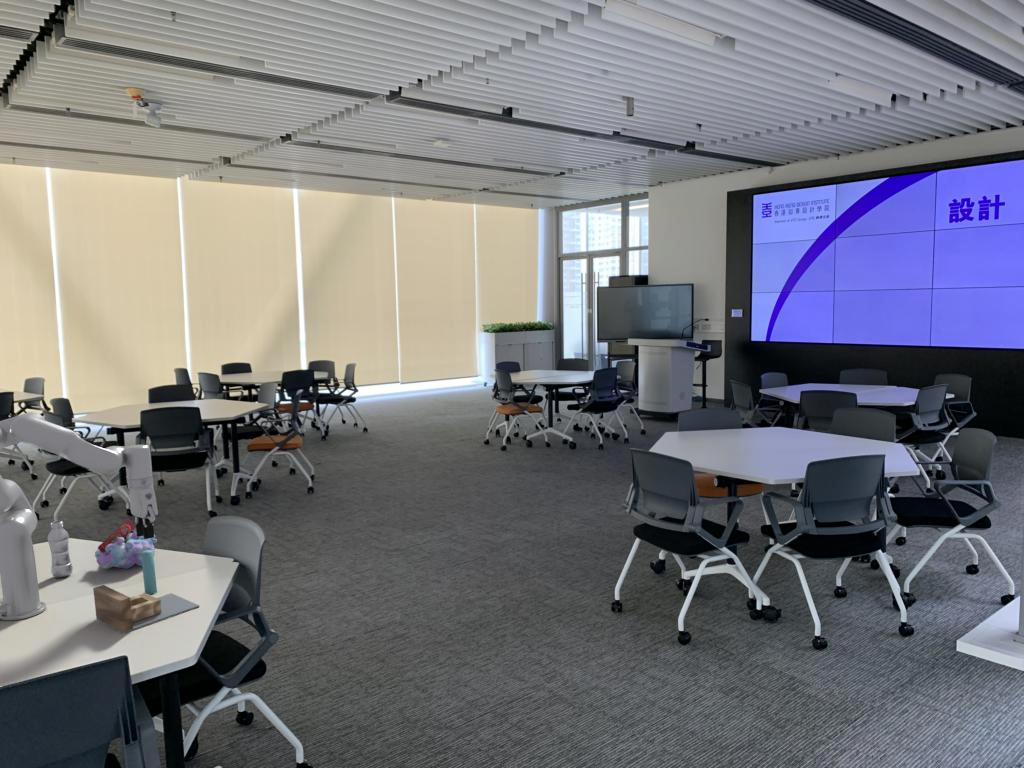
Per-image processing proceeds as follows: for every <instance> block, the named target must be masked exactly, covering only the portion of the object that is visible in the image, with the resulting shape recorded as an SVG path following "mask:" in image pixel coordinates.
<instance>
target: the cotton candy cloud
mask: <svg viewBox="0 0 1024 768" xmlns="http://www.w3.org/2000/svg"><path fill="white" fill-rule="evenodd" d="M157 542H158V539H157V538H156V535H155V533H154V537H152V538H149V539H144V536H140V537H138V536H137V532H136V525H135V524H134V523H132V522H131V520H130V519H128V518H127V519H126V520H125V521H123V523H121V525H120V526H118V528H117V529H115V530H114V531H113V532H112V533H111V534H110V535H109V536H108V537H107V538H106V539H104V541H102V542H101V544H100V543H99V545H98V546H97V549H96V551H95V552H94V557H95V559H96V560H95V562H96V563H97V564H98V566H100V567H101V568H102V569H107V570H109V569H111V568H112V567H116V568H120V569H121V568H122V569H125V570H126V569H127V570H128V569H130V568H131V567H134V566H135V564H136V565H138V566H139V567H142V557H141V552H143V551H146V550H153V555H154V556H155V552H156V550H155V549H156V548H155V545H154V544H156V543H157Z"/></svg>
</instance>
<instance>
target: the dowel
mask: <svg viewBox="0 0 1024 768" xmlns="http://www.w3.org/2000/svg"><path fill="white" fill-rule="evenodd" d="M141 557H142V566H141V568H142V576H143V585H144V586H143V587H144V593H146V594H149V595H153V594H156V593H157V592H158V589H157V588H158V587H157V577H156V566H155V559H154V558H155V554H154V555H153V550H146V551H143V552H141Z"/></svg>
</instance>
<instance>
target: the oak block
mask: <svg viewBox="0 0 1024 768" xmlns="http://www.w3.org/2000/svg"><path fill="white" fill-rule="evenodd" d="M157 598H158V597H155V596H153V595H152V594H146V593H145V592H144V593H141V594H138V595H135V596H132V597H130V601H131V612H132V622H135V621H138V620H141V619H144V618H147V617H150V616H153V615H156V614H159V613H161V612H162V610H161V600H160V599H157Z"/></svg>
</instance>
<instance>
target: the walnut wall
mask: <svg viewBox="0 0 1024 768" xmlns="http://www.w3.org/2000/svg"><path fill="white" fill-rule="evenodd" d="M92 591H93V598H94V599H93V600H94V606H95V616H96V617H95V618H98V619H99V620H101V621H103V622H105V623H107V624H108V625H110V626H112V627H114V628H116V629H118V630H119V631H121V632H125V631H128V630H131V629H133V622H132V612H131V601H130V598H131V597H129V596H127V595H126V594H124V593H121V592H119V591H118V590H115V589H113V588H112V587H111V588H110V587H109V586H107V585H104V584H102V585H98V586H96V587H93V590H92ZM108 625H107V626H108Z"/></svg>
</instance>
